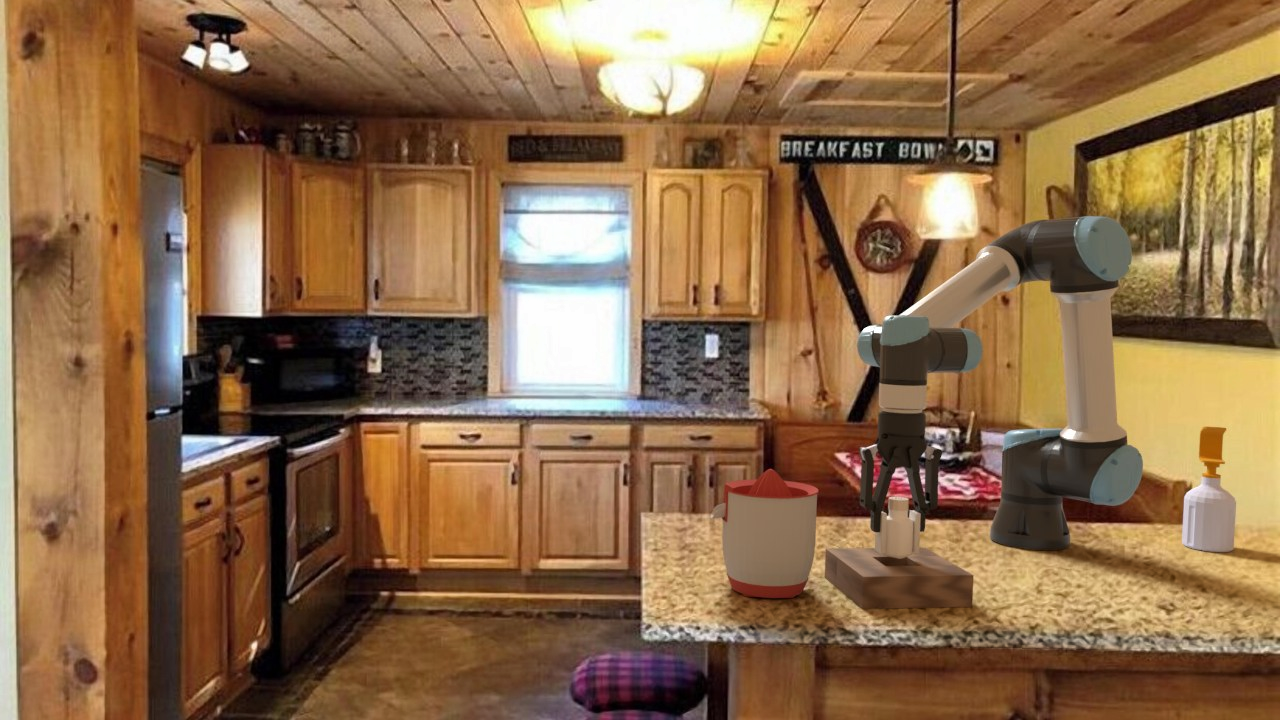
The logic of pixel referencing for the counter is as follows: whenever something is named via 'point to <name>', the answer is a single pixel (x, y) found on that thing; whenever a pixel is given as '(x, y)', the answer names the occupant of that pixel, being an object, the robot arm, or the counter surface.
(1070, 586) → the counter surface
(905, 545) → the pepper shaker
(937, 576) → the socket block
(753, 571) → the citrus juicer
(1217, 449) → the soap bottle
